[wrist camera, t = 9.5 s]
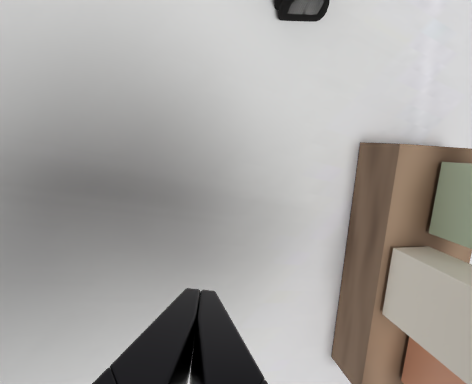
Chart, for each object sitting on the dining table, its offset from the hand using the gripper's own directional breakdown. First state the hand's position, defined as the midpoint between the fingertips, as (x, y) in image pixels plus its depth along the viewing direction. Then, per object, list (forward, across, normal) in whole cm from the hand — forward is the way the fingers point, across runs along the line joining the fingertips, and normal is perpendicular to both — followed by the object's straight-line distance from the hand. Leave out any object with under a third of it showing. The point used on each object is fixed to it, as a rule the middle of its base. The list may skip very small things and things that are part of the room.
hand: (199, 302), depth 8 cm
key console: (+15, -15, +5) cm, 22 cm away
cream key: (+10, -14, +4) cm, 18 cm away
